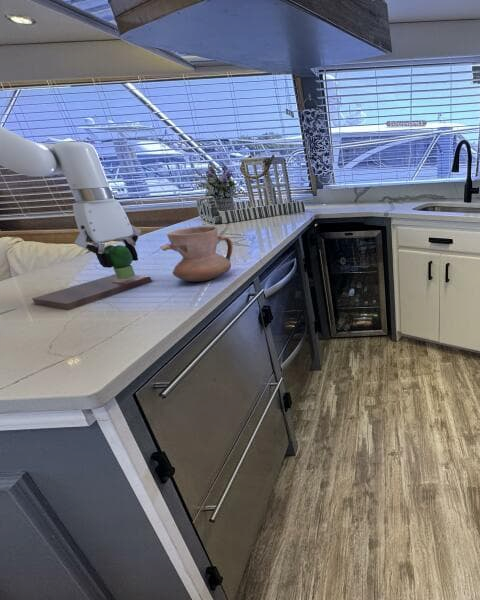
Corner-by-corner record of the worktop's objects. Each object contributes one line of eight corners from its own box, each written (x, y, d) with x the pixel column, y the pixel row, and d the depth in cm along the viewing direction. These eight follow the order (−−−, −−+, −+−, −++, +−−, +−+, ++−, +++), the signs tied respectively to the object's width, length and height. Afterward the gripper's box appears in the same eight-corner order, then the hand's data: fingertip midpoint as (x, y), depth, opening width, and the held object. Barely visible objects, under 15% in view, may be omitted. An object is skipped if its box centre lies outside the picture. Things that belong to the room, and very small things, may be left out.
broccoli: (123, 281, 87) (110, 248, 83) (106, 279, 89) (92, 247, 85) (146, 274, 92) (134, 243, 88) (129, 272, 94) (117, 242, 91)
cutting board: (69, 309, 77) (65, 303, 76) (34, 303, 81) (31, 297, 80) (152, 281, 94) (150, 275, 93) (120, 277, 98) (118, 272, 98)
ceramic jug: (179, 291, 85) (162, 238, 79) (167, 279, 94) (150, 231, 89) (248, 274, 96) (237, 226, 91) (231, 265, 106) (219, 222, 100)
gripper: (120, 192, 90) (143, 254, 98) (41, 199, 75) (75, 272, 83) (138, 192, 88) (160, 255, 95) (61, 199, 73) (94, 274, 80)
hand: (121, 263), depth 89 cm, fingers closed on broccoli, 5 cm apart
